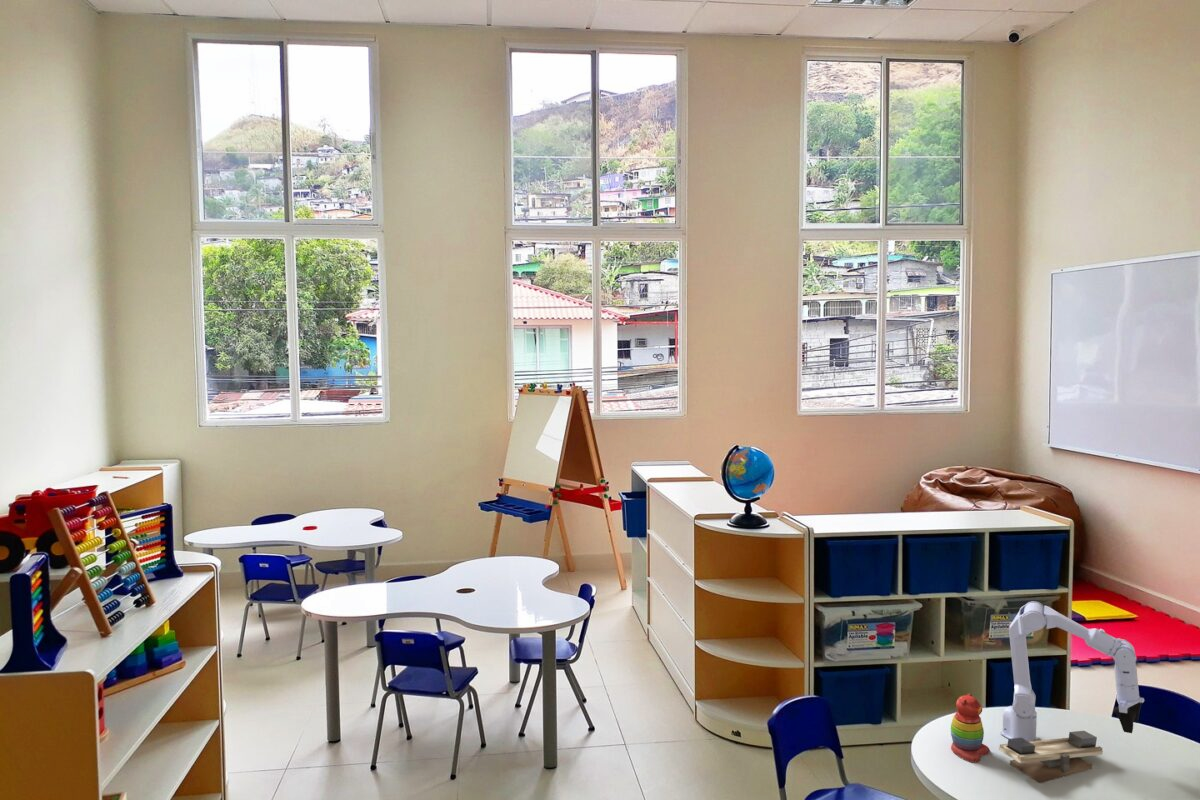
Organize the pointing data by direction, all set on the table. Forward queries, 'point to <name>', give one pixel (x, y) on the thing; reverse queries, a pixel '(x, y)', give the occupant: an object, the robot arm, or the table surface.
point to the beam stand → (1052, 767)
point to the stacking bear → (968, 730)
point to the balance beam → (1050, 751)
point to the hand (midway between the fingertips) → (1131, 726)
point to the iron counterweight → (1021, 746)
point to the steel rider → (1082, 739)
